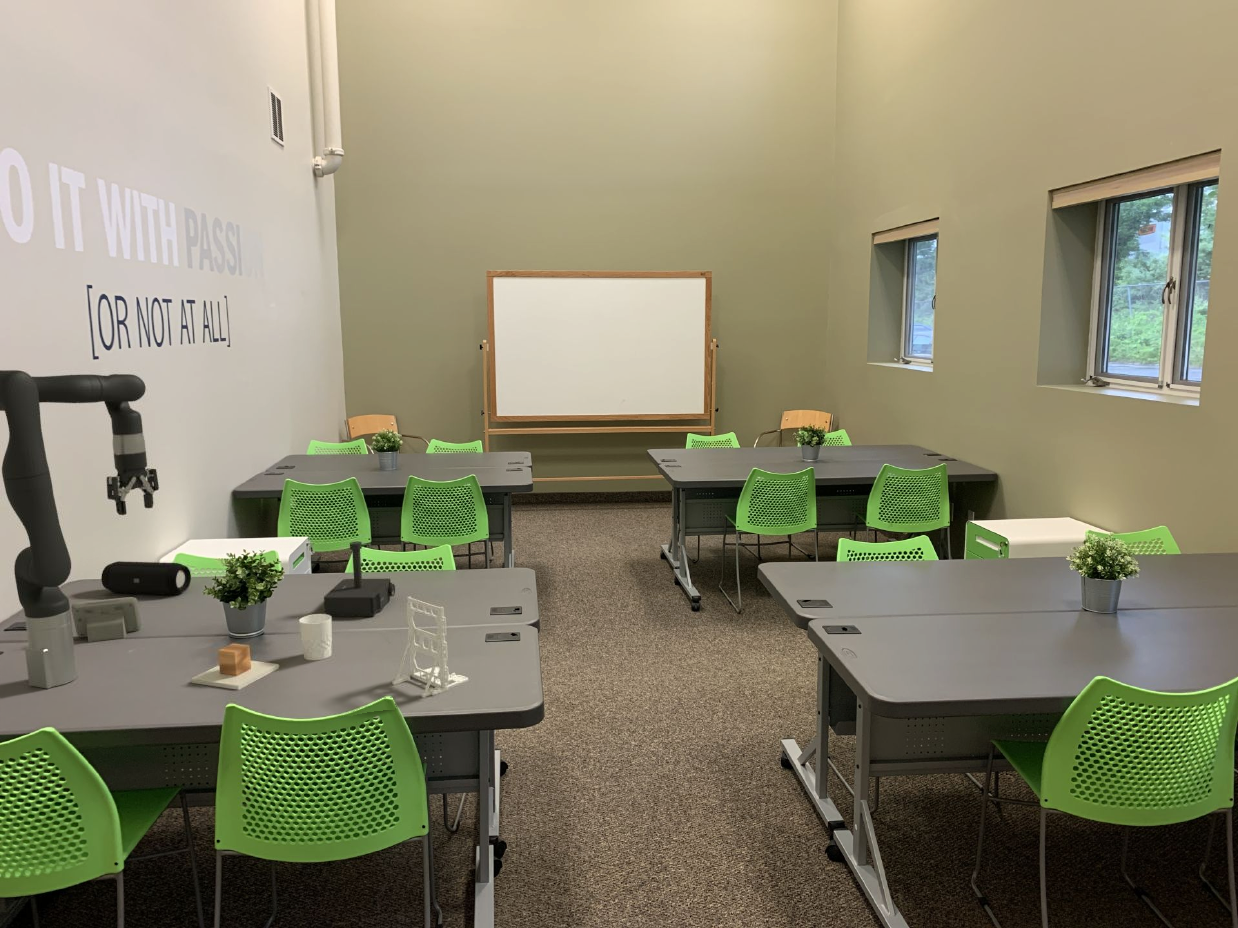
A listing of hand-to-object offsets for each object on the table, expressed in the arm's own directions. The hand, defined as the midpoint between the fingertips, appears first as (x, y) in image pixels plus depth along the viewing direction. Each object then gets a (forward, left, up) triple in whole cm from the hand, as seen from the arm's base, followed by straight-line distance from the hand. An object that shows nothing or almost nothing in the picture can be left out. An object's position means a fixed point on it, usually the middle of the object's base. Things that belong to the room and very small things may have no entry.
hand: (135, 511), depth 244 cm
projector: (+43, -38, -37) cm, 68 cm away
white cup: (+5, -51, -36) cm, 63 cm away
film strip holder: (-1, -88, -36) cm, 95 cm away
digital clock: (+1, +15, -36) cm, 39 cm away
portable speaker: (+35, +37, -36) cm, 63 cm away
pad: (-12, -40, -36) cm, 55 cm away
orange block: (-12, -40, -35) cm, 55 cm away
